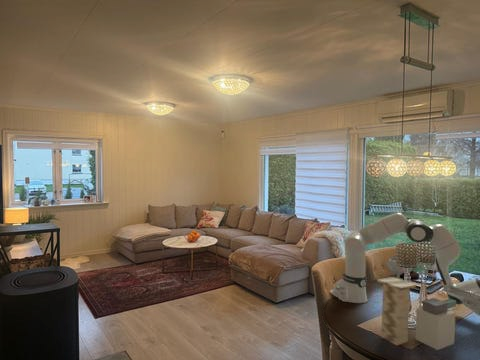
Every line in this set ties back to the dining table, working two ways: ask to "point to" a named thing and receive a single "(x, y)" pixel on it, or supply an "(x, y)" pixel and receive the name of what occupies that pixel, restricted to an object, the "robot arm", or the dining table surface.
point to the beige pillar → (395, 309)
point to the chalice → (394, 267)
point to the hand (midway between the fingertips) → (459, 290)
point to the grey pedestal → (435, 328)
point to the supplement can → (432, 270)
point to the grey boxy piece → (438, 305)
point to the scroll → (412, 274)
